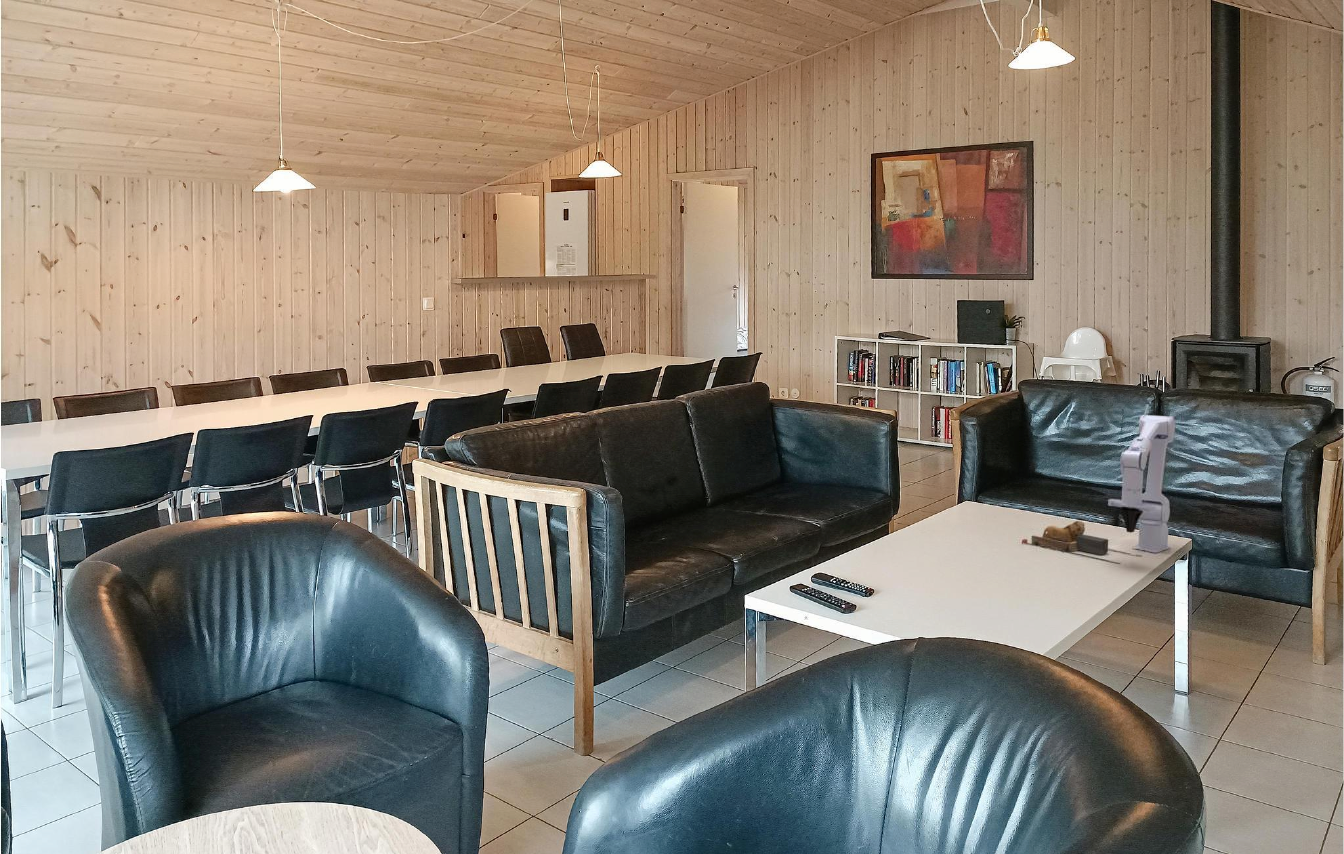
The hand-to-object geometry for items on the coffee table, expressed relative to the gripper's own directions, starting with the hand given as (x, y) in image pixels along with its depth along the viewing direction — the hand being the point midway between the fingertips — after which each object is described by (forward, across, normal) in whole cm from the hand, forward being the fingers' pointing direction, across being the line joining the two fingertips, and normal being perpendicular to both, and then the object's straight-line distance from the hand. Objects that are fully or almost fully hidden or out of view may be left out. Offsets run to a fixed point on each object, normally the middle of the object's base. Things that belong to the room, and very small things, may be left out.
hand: (1130, 531), depth 329 cm
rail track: (+10, -20, +4) cm, 23 cm away
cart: (+10, -23, +4) cm, 25 cm away
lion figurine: (+11, -26, +4) cm, 29 cm away
